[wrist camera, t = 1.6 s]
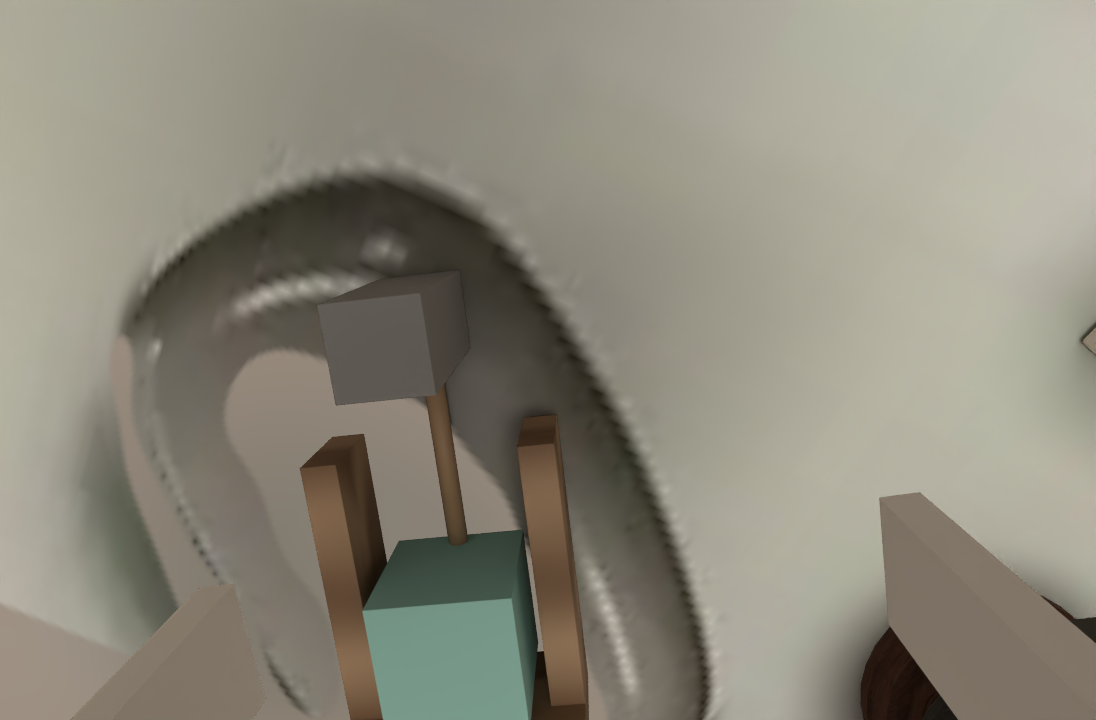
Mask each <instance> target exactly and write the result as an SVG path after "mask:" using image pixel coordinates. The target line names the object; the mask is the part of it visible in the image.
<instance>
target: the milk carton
mask: <svg viewBox="0 0 1096 720" xmlns="http://www.w3.org/2000/svg"><path fill="white" fill-rule="evenodd" d="M1083 343H1084V344H1085V345H1086V346H1087V347H1088V348H1089V349H1090V350H1091V351H1092V352H1093V353H1095V354H1096V327H1095V328H1094V329H1093V331H1092V332H1091V333H1090V334H1089V335H1088V336H1087V337H1086V338H1085V339H1084V340H1083Z"/></svg>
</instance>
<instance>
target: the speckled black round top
mask: <svg viewBox="0 0 1096 720" xmlns="http://www.w3.org/2000/svg"><path fill="white" fill-rule="evenodd" d="M1040 596H1041V595H1040ZM1041 597H1042V598H1043V599H1045V600H1046V601H1047V602H1048V603H1049V604H1050V605H1052V606H1053V607H1054V608H1055V609H1056V610H1057V611H1059V612H1060V613H1061V614H1062V615H1063V616H1064V617H1066V618H1067V619H1068V620H1076V619H1075V618H1074V617H1072V616H1071V615H1070V614H1069V613H1068V612H1067V611H1065V610H1064V609H1063V608H1062V607H1060V606H1059V605H1057V604H1055V603H1053V602H1052V601H1050V600H1048V599H1046V598H1045V597H1043V596H1041ZM860 704H861V709H862V713H863V718H864V720H958V719H957V717H956V716H955V715H954V713H953V712H952V711H951V709H950V708H949V706H948V705H947V704H946V702H945V701H944V700H943V698H942V697H941V695H940V694H939V693H938V691H937V690H936V689H935V687H934V686H933V684H932V683H931V682H930V680H929V679H928V678H927V676H926V675H925V673H924V672H923V671H922V669H921V668H920V667H919V665H918V664H917V663H916V661H915V660H914V658H913V657H912V656H911V654H910V653H909V652H908V650H907V649H906V647H905V646H904V645H903V643H902V642H901V641H900V639H899V638H898V636H897V635H896V634H895V632H894V631H893V630H892V628H891V627H890V628H889V629H888V630H887V631H886V633H885V634H884V635H883V637H882V638H881V639H880V640H879V642H878V643H877V644H876V645H875V647H874V649H873V652H872V654H871V656H870V658H869V660H868V662H867V664H866V667H865V670H864V674H863V678H862V682H861V703H860Z"/></svg>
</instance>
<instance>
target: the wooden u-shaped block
mask: <svg viewBox="0 0 1096 720" xmlns="http://www.w3.org/2000/svg"><path fill="white" fill-rule="evenodd" d="M517 452H518V459H519V467H520V474H521V482H522V489H523V497H524V505H525V512H526V520H527V527H528V535H529V542H530V550H531V557H532V565H533V572H534V580H535V587H536V595H537V602H538V610H539V617H540V625H541V632H542V640H543V647H544V651H541V652H537V659H536V670H535V681H534V692H533V703H532V714H531V720H589V705H588V671H587V663H586V655H585V646H584V638H583V629H582V621H581V613H580V604H579V596H578V588H577V579H576V571H575V562H574V554H573V546H572V537H571V529H570V521H569V512H568V504H567V495H566V487H565V479H564V470H563V462H562V454H561V445H560V437H559V428H558V420H557V415H547V416H537V417H527V418H524V421H523V425H522V429H521V433H520V437H519V441H518V445H517ZM300 471H301V476H302V481H303V486H304V491H305V496H306V501H307V506H308V511H309V516H310V521H311V526H312V531H313V536H314V541H315V546H316V551H317V556H318V560H319V566H320V571H321V575H322V580H323V585H324V590H325V595H326V600H327V605H328V610H329V615H330V620H331V625H332V630H333V635H334V640H335V645H336V650H337V655H338V660H339V665H340V670H341V674H342V679H343V684H344V689H345V694H346V699H347V704H348V709H349V714H350V719H351V720H383V716H382V711H381V706H380V701H379V695H378V690H377V685H376V680H375V675H374V669H373V664H372V659H371V654H370V648H369V643H368V638H367V633H366V628H365V622H364V617H363V612H362V611H363V609H364V607H365V605H366V603H367V601H368V599H369V597H370V595H371V593H372V591H373V590H374V588H375V586H376V584H377V582H378V580H379V578H380V576H381V574H382V572H383V570H384V569H385V567H386V565H387V560H386V554H385V548H384V543H383V538H382V532H381V526H380V521H379V515H378V510H377V504H376V498H375V493H374V488H373V482H372V477H371V471H370V465H369V459H368V454H367V448H366V443H365V437H364V434H359V435H348V436H339V437H332V438H331V439H330V440H329V441H328V442H327V443H326V444H325V445H324V446H323V447H322V448H321V449H320V450H319V451H317V452H316V453H315V454H314V455H313V456H312V457H311V458H310V459H309V460H308V461H307V462H306V463H305V464H304V465H303V466H302V467H301V468H300Z"/></svg>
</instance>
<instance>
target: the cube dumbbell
mask: <svg viewBox="0 0 1096 720" xmlns="http://www.w3.org/2000/svg"><path fill="white" fill-rule="evenodd" d="M317 308H318V313H319V319H320V324H321V329H322V335H323V340H324V345H325V351H326V356H327V361H328V366H329V372H330V377H331V383H332V388H333V393H334V399H335V404H336V405H345V404H355V403H364V402H374V401H384V400H393V399H403V398H413V397H423V396H426V402H427V408H428V414H429V420H430V427H431V433H432V439H433V446H434V452H435V458H436V465H437V471H438V477H439V484H440V490H441V496H442V502H443V509H444V515H445V521H446V527H447V533H448V537H437V538H426V539H415V540H405V541H399V542H398V544H397V546H396V548H395V550H394V552H393V554H392V555H391V557H390V559H389V561H388V563H387V565H386V567H385V569H384V570H383V572H382V574H381V576H380V578H379V580H378V582H377V584H376V586H375V588H374V590H373V591H372V593H371V595H370V597H369V599H368V601H367V603H366V605H365V607H364V609H363V611H362V612H363V617H364V622H365V628H366V633H367V638H368V643H369V648H370V654H371V659H372V664H373V669H374V675H375V680H376V685H377V690H378V695H379V701H380V706H381V711H382V716H383V720H531V714H532V703H533V692H534V681H535V670H536V659H537V648H538V638H537V631H536V624H535V616H534V608H533V601H532V593H531V586H530V578H529V571H528V564H527V557H526V549H525V541H524V534H523V530H515V531H504V532H492V533H481V534H470V535H467V529H466V523H465V516H464V510H463V503H462V497H461V490H460V483H459V477H458V470H457V464H456V457H455V450H454V444H453V437H452V431H451V424H450V418H449V411H448V405H447V398H446V392H445V385H444V383H445V382H446V381H447V379H448V378H449V376H450V375H451V374H452V372H453V371H454V370H455V368H456V367H457V365H458V364H459V363H460V361H461V360H462V359H463V357H464V356H465V354H466V353H467V352H468V350H469V349H470V341H469V334H468V327H467V320H466V313H465V306H464V299H463V292H462V285H461V278H460V271H459V270H453V271H444V272H436V273H427V274H418V275H409V276H401V277H392V278H383V279H379V280H377V281H374V282H372V283H370V284H367V285H365V286H362V287H360V288H357V289H355V290H352V291H350V292H347V293H345V294H342V295H340V296H338V297H335V298H333V299H330V300H328V301H325V302H323V303H320V304H318V305H317Z"/></svg>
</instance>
